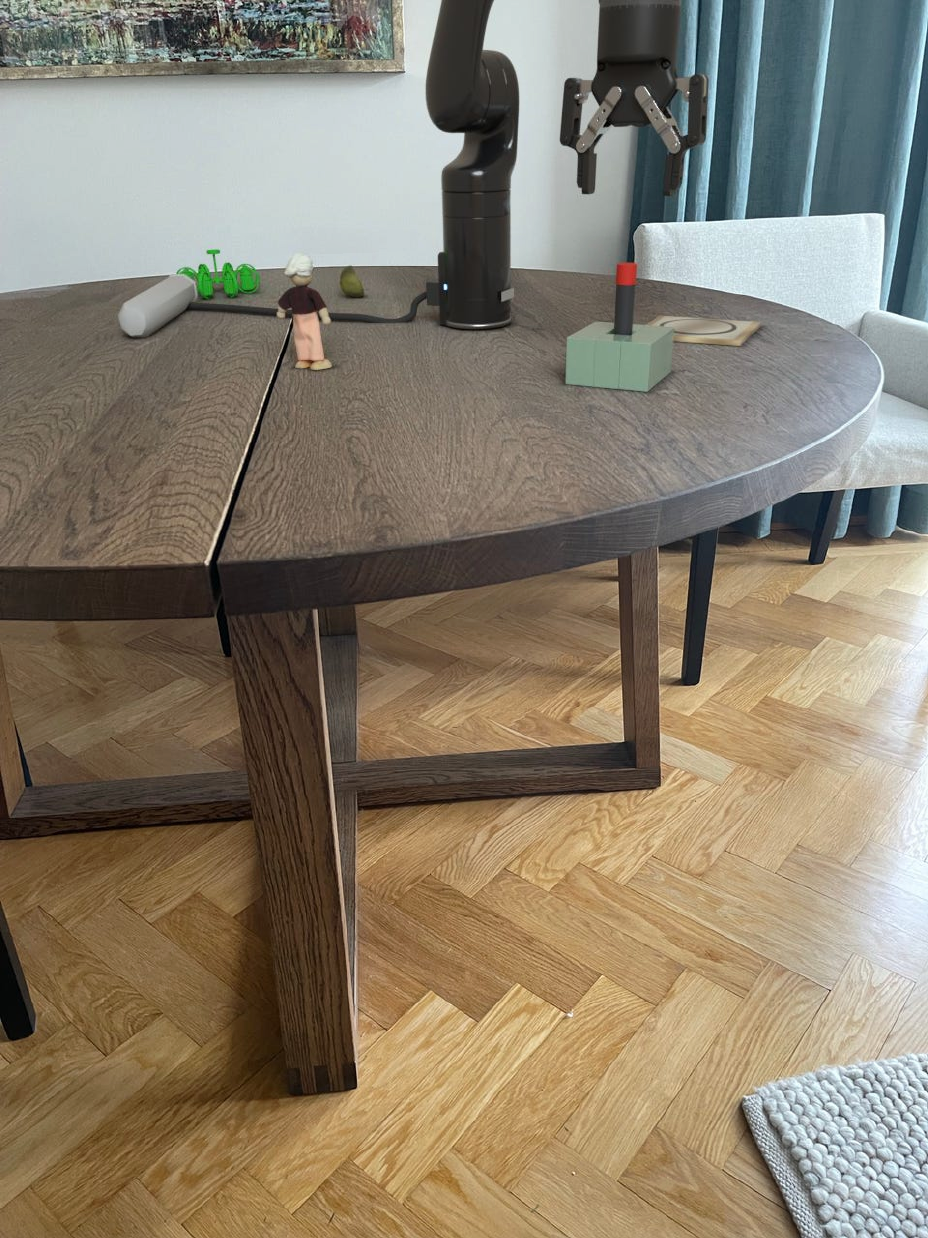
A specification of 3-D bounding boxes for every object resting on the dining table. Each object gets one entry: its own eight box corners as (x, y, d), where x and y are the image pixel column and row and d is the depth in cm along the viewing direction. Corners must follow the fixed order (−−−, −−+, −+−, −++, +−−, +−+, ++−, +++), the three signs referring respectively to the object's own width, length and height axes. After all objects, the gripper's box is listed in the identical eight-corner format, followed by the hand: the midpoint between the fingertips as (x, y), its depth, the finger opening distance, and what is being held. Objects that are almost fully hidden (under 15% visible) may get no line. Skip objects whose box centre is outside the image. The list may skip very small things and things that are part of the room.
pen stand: (565, 383, 102) (566, 337, 99) (593, 365, 109) (595, 321, 106) (647, 392, 98) (650, 343, 95) (670, 372, 105) (674, 326, 103)
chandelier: (194, 285, 168) (188, 244, 165) (274, 285, 166) (269, 244, 163) (159, 300, 155) (152, 256, 152) (245, 300, 153) (240, 255, 150)
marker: (608, 379, 103) (614, 264, 97) (614, 375, 104) (620, 261, 99) (626, 381, 102) (633, 265, 96) (632, 376, 104) (639, 262, 98)
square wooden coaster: (631, 337, 121) (631, 331, 121) (659, 319, 131) (659, 313, 131) (740, 346, 116) (740, 339, 115) (760, 326, 126) (761, 320, 125)
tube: (153, 309, 125) (201, 278, 147) (113, 297, 124) (167, 268, 146) (148, 348, 128) (195, 312, 149) (109, 336, 127) (162, 301, 149)
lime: (352, 294, 156) (349, 262, 154) (374, 296, 154) (371, 264, 151) (334, 298, 153) (331, 266, 151) (356, 300, 151) (353, 268, 148)
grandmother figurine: (345, 364, 112) (336, 252, 106) (331, 371, 109) (320, 256, 103) (289, 360, 114) (276, 250, 108) (273, 368, 111) (259, 255, 105)
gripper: (726, 2, 87) (706, 193, 94) (582, 10, 92) (574, 190, 100) (706, -5, 81) (687, 199, 89) (553, 5, 86) (548, 195, 94)
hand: (627, 194), depth 94 cm, fingers open, 8 cm apart
